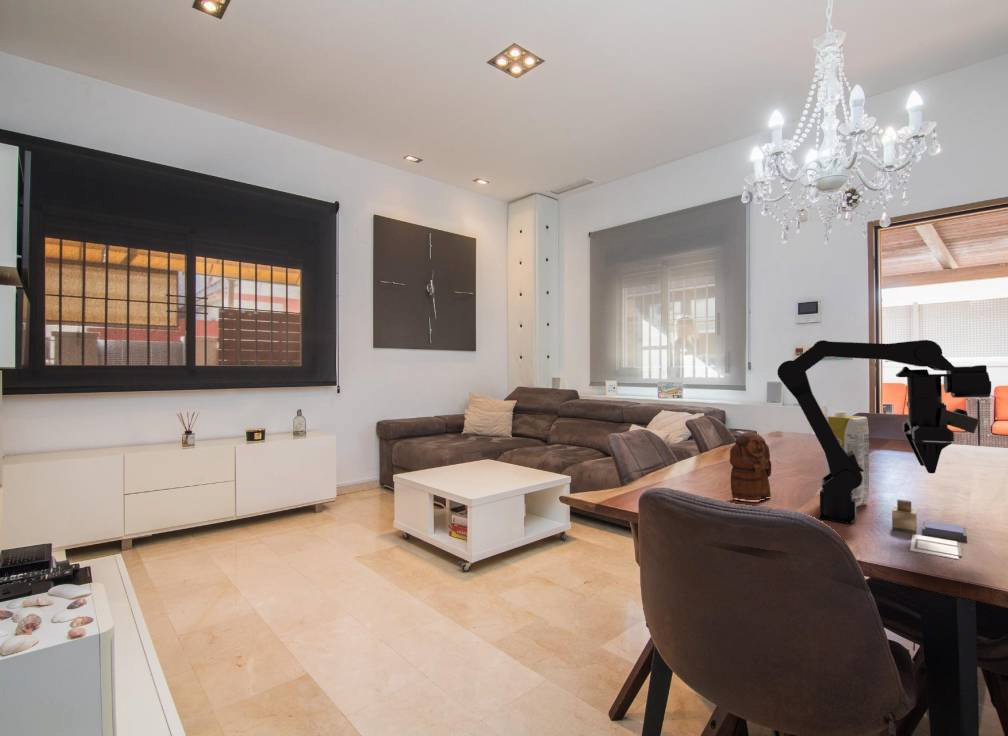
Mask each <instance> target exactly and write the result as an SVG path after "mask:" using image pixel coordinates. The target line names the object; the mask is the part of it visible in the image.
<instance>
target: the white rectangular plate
mask: <svg viewBox="0 0 1008 736" xmlns="http://www.w3.org/2000/svg"><path fill="white" fill-rule="evenodd" d="M909 551H910V552H911V551H912V552H916V553H922V554H928V555H932V556H939V557H943V558H949V559H954V560H959V559H960V558H961V557H962V550H961V546H959V545H958V540H952V539H946V538H940V537H934V536H928V535H922V534H912V537H911V542H910V549H909Z"/></svg>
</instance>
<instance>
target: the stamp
mask: <svg viewBox="0 0 1008 736" xmlns="http://www.w3.org/2000/svg"><path fill="white" fill-rule="evenodd" d="M896 501H897V505H896V506H893V507H892V511H891V516H892V517H891V522H892V523H891V530H892V531H895V532H899V533H906V534H912V535H913V534H915V535H917V529H918V528H917V527H918V526H917V523H918V522H917V521H918V520H917V519H918V518H917V512H918V511H917V509H913V508H912V501H911V500H909V499H908V500H907V499H897V500H896Z"/></svg>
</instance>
